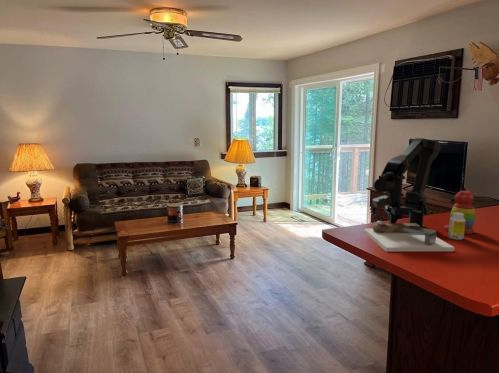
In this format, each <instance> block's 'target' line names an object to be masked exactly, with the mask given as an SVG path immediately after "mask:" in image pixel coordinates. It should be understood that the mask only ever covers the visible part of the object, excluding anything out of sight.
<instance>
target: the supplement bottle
mask: <svg viewBox="0 0 499 373" xmlns="http://www.w3.org/2000/svg"><path fill="white" fill-rule="evenodd" d="M448 225H449V231H448V234H447V236H448V238H449V239H453V240H463V239H464V237H465V234H464V230H465V219H464V214H463V213H458V212H454V213H453V214H452V217H451V218H450V217H449V222H448Z"/></svg>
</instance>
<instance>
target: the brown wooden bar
mask: <svg viewBox="0 0 499 373" xmlns="http://www.w3.org/2000/svg"><path fill="white" fill-rule="evenodd" d="M410 225H411V226H416V227H420V225H418V224H416V223H409V222H401V223H399V222H396V223H390V222H389V223H388V222H387V223H386V222H383V224H382V225H379V224H377V222H375V223H373V225H372V226H373V227H372V229H373V230H374V231H376V232H408V231H404V228H405V227H407V226H410Z"/></svg>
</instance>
